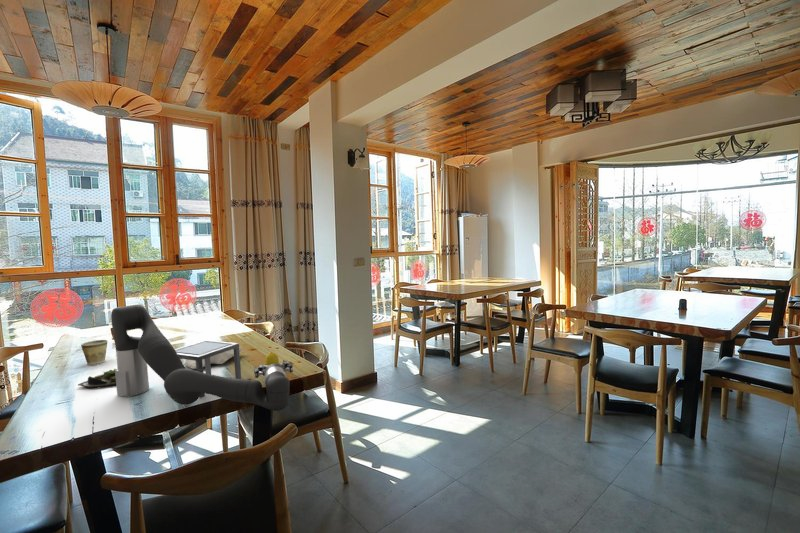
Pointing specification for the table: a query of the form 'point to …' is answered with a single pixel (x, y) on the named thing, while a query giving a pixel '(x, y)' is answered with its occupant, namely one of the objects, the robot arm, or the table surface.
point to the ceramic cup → (94, 351)
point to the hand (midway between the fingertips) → (272, 363)
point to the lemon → (271, 359)
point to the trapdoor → (202, 348)
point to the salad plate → (101, 380)
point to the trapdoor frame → (207, 356)
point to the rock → (213, 359)
